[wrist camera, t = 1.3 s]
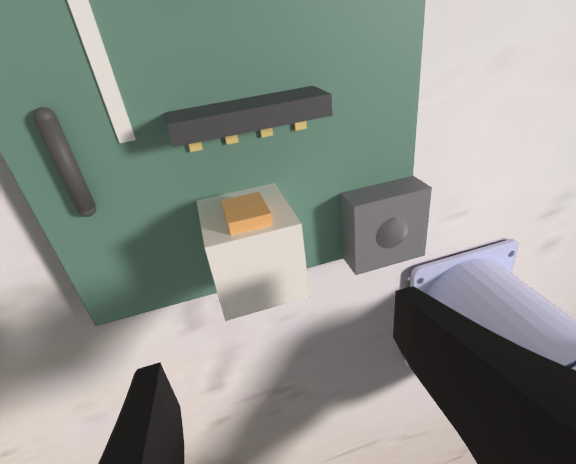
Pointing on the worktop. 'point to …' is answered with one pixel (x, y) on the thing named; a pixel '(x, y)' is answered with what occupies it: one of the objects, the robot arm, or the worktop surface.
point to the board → (210, 132)
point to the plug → (254, 250)
